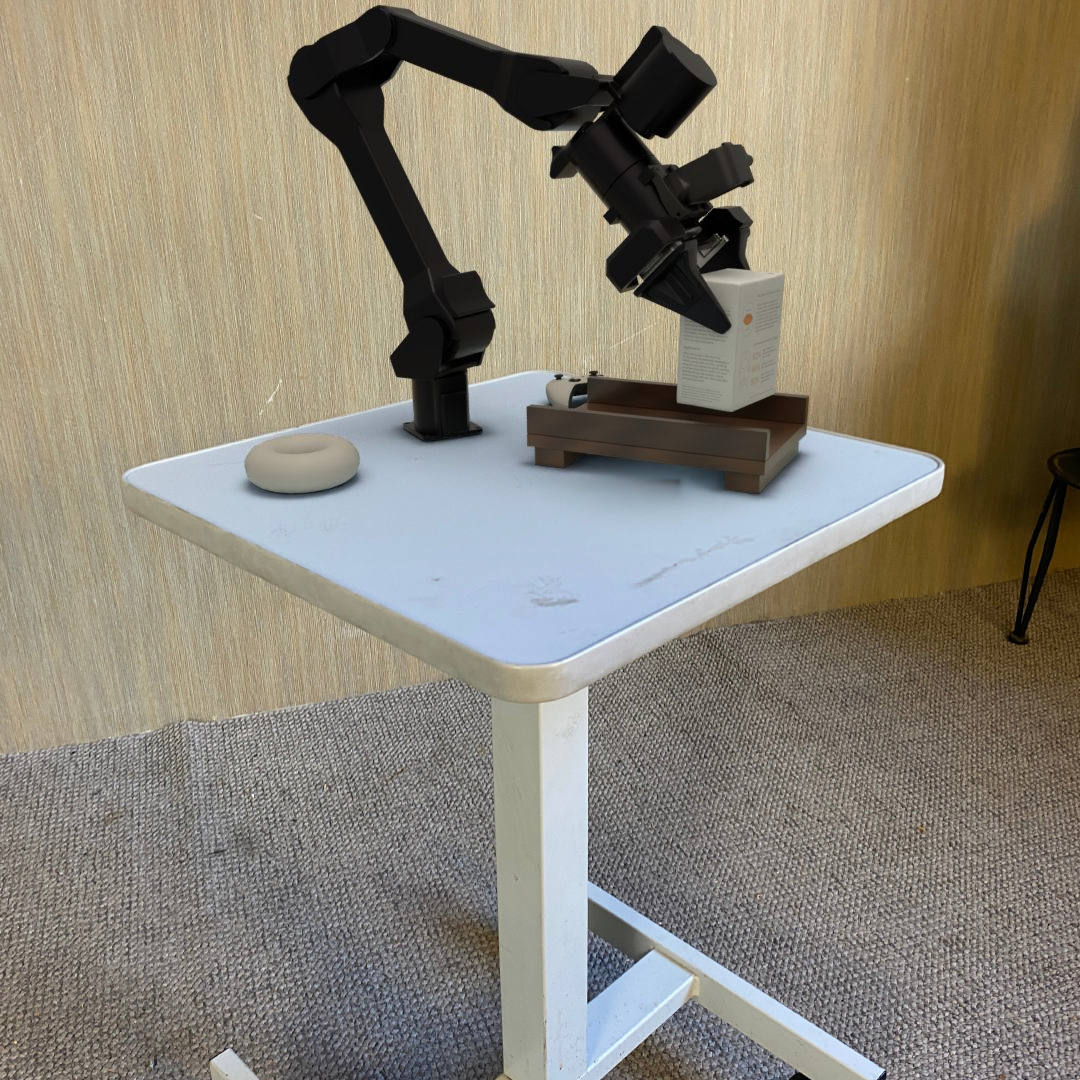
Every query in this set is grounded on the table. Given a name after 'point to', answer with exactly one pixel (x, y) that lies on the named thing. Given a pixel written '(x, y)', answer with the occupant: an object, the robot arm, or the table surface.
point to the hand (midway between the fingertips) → (745, 322)
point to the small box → (733, 343)
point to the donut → (302, 463)
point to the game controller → (567, 389)
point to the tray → (672, 431)
